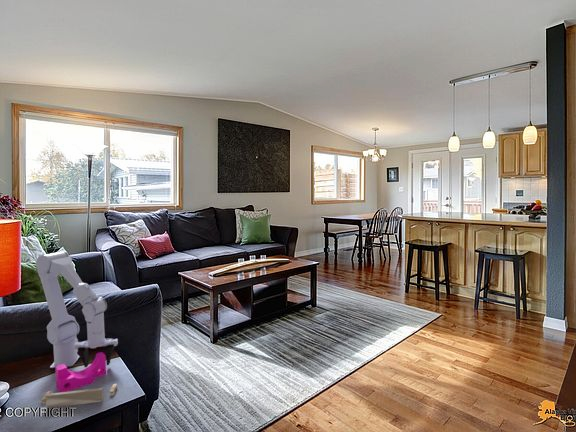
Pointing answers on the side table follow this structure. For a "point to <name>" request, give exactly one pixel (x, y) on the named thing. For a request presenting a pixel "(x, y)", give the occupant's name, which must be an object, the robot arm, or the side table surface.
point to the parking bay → (75, 397)
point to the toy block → (80, 374)
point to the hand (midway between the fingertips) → (97, 364)
